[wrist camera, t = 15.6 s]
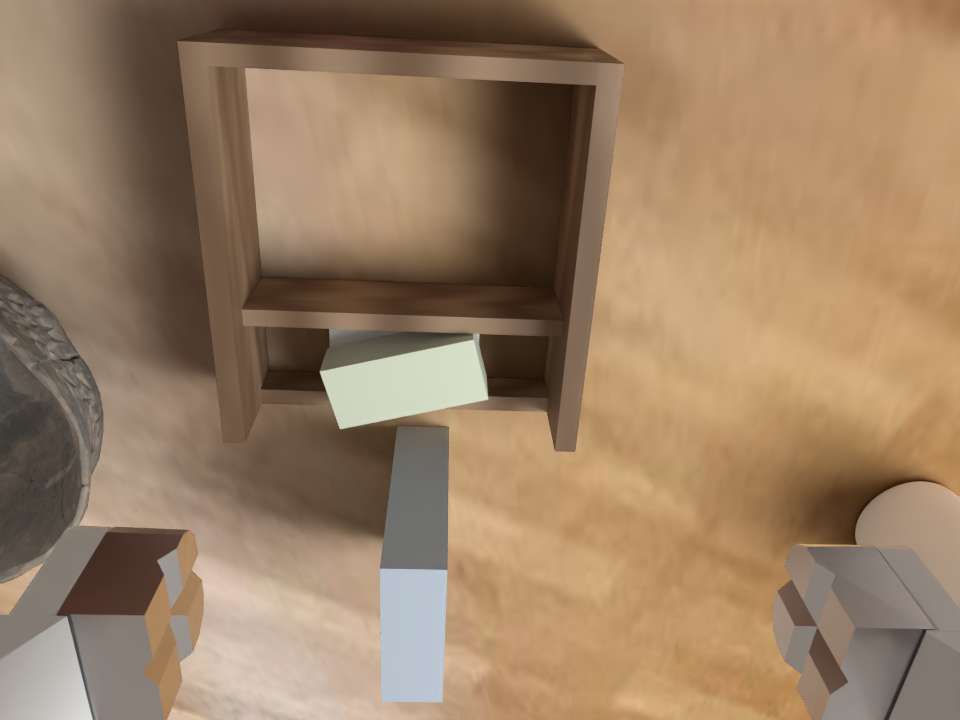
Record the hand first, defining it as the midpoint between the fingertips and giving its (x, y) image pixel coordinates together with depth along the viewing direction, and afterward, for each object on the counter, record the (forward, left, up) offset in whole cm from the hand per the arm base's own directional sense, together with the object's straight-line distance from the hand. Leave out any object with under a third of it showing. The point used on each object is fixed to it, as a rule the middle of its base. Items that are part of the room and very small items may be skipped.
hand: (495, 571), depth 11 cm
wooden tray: (+3, +7, -37) cm, 38 cm away
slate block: (+2, +26, -37) cm, 45 cm away
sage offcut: (+3, +15, -34) cm, 38 cm away
